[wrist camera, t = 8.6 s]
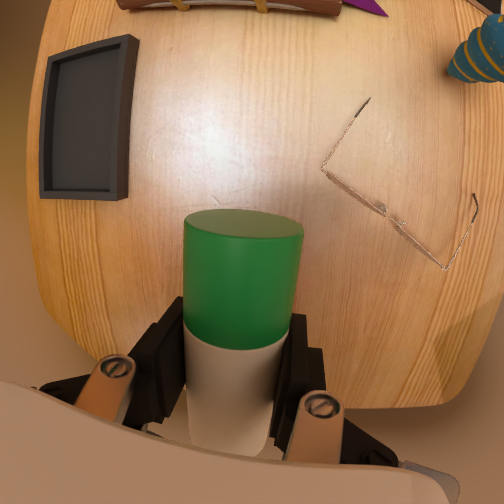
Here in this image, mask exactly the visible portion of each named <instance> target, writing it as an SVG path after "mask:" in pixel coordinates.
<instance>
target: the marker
mask: <svg viewBox="0 0 504 504" xmlns="http://www.w3.org/2000/svg"><path fill="white" fill-rule="evenodd" d="M303 238H304V228H303V226H302V225H301V224H299V223H297V222H296V221H294V220H291V219H289V218H286V217H283V216H279V215H275V214H271V213H266V212H260V211H252V210H241V209H214V210H205V211H199V212H196V213H192V214H190V215H188V216H187V217H186V218H185V220H184V239H183V319H184V320H183V326H184V356H185V377H186V394H187V408H188V420H189V433H190V439H191V442H192V444H193V445H194V446H196V447H201V448H205V449H210V450H215V451H220V452H225V453H231V454H237V455H243V456H249V457H254V456H255V455H256V454H258V453H259V452H260V451H261V450H262V448H263V447H264V444H265V442H266V438H267V434H268V429H269V425H270V420H271V416H272V410H273V401H274V396H275V391H276V386H277V381H278V376H279V371H280V365H281V360H282V355H283V350H284V344H285V339H286V337H287V335H288V331H289V325H290V320H291V314H292V308H293V302H294V296H295V290H296V284H297V278H298V272H299V265H300V259H301V252H302V245H303Z"/></svg>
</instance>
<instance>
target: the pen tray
mask: <svg viewBox="0 0 504 504" xmlns="http://www.w3.org/2000/svg"><path fill="white" fill-rule="evenodd" d="M138 46H139V40H138V39H137V38H135V37H134V36H132V35H130V34H126V35H122V36H117V37H113V38H109V39H105V40H101V41H97V42H93V43H90V44H86V45H83V46H79V47H76V48H73V49H70V50H67V51H64V52H61V53H58V54H55V55H52V56H50V57H48V61H47V63H48V64H47V67H46V73H45V80H44V87H43V96H42V105H41V117H40V132H39V191H40V192H39V194H40V199H78V200H104V201H118V200H121V199H124V198H128V155H129V133H130V117H131V105H132V94H133V84H134V76H135V67H136V60H137V53H138Z"/></svg>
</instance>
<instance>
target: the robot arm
mask: <svg viewBox="0 0 504 504" xmlns="http://www.w3.org/2000/svg"><path fill="white" fill-rule="evenodd" d="M183 320H184V319H183V297H180V296H178V297H177V298H176V299H175V300H174V302H173V303H172V304H171V306H170V307H169V308H168V309H167V311H166V312H165V313H164V315H163V316H162V317H161V319H160V320H159V321H158V323H152V324H151V325H150V327H149V328H148V329H147V331H146V332H145V333H144V334H143V336H142V337H141V338H140V340H139V341H138V342H137V343H136V345H135V346H134V347H133V349H132V350H131V351H130V353H129V354H128V355H127V356H126V355H123V354H112V355H108V356H105V357H104V358H102V359H100V361H99V362H98V363H97V364H96V366H95V368H94V370H93V371H92V373H91V374H88V375H83V376H79V377H74V378H69V379H65V380H60V381H55V382H50V383H47V384H45V385H43V386H42V387H41V388H40V389H39V390H37V388H36V387H28V386H26V385H22V384H18V383H15V382H8V381H1V380H0V504H456V503H457V500H458V496H459V493H460V485H459V483H458V481H457V480H456V479H455V477H453V476H451V475H449V474H446V473H443V472H439V471H436V470H433V469H430V468H427V467H424V466H422V465H419V464H416V463H413V462H410V461H408V460H405V462H400V461H398V458H397V456H396V454H395V453H394V452H393V451H392V450H391V449H390V448H388V447H387V446H385V445H383V444H382V443H380V442H379V441H378V440H376V439H375V438H373V437H372V436H370V435H369V434H367V433H366V432H364V431H363V430H361V429H360V428H358V427H357V426H356V425H354V424H353V423H351V422H350V421H348V420H347V419H346V418H344V411H345V408H344V404H343V402H342V400H341V399H340V398H339V397H338V396H337V395H335V394H333V393H331V392H328V391H326V383H325V372H324V362H323V353H322V349H321V348H312V347H308V341H307V321H306V315H303V314H295V313H292V317H291V320H290V325H289V331H288V335H287V337H286V339H285V344H284V350H283V355H282V360H281V365H280V371H279V376H278V381H277V386H276V391H275V396H274V401H273V410H272V418H271V428H270V436H269V437H272V438H275V441H274V446H277V447H278V448H279V449H280V450H281V451H282V452H284V454H283V458H282V460H272V459H263V458H256V457H249V456H243V455H237V454H231V453H225V452H220V451H215V450H210V449H205V448H201V447H196V446H192V445H187V444H184V443H180V442H176V441H172V440H168V439H165V438H161V437H158V436H154V435H151V434H148V433H146V431H147V427H148V423H150V422H156V423H160V424H162V422H163V420H164V418H165V417H167V418H168V417H170V415H171V413H172V411H173V408H174V406H175V404H176V402H177V400H178V398H179V395H180V393H181V391H182V389H183V387H184V385H185V382H186V377H185V356H184V326H183Z"/></svg>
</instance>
